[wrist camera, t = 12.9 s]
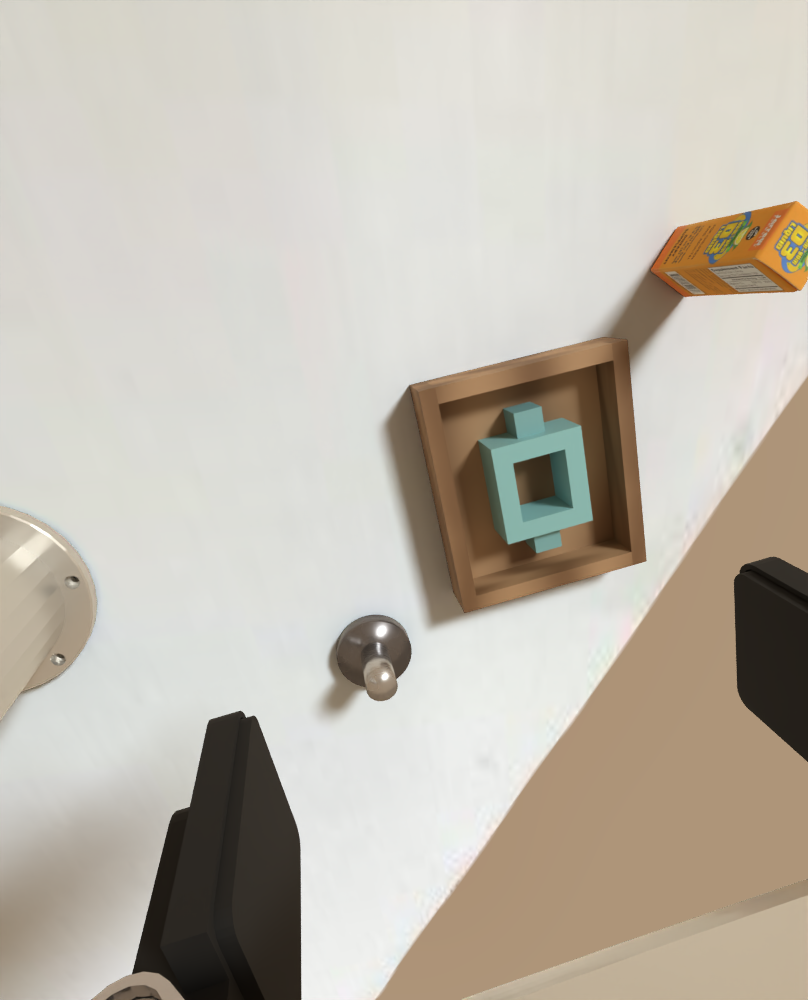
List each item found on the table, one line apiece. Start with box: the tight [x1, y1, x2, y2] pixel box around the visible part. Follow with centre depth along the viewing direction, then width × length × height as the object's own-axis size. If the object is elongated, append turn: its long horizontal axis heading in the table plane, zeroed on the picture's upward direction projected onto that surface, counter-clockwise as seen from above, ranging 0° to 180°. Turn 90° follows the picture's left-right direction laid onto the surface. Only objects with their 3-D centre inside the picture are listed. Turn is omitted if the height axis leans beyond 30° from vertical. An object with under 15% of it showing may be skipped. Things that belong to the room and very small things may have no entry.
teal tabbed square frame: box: [478, 402, 593, 553], centre depth 39 cm, size 10×6×3 cm, turn 13°
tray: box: [410, 337, 646, 613], centre depth 39 cm, size 13×15×3 cm
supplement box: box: [651, 201, 808, 297], centre depth 33 cm, size 3×3×10 cm
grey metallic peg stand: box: [337, 615, 411, 701], centre depth 41 cm, size 5×5×5 cm
